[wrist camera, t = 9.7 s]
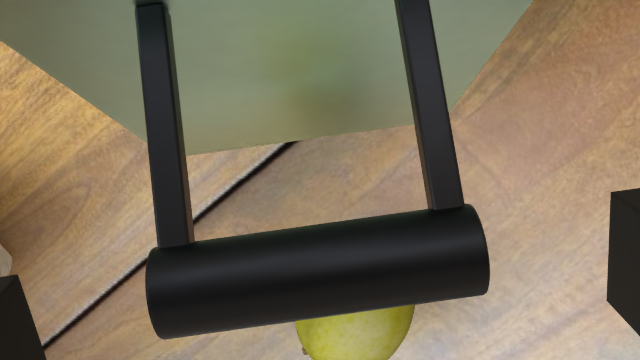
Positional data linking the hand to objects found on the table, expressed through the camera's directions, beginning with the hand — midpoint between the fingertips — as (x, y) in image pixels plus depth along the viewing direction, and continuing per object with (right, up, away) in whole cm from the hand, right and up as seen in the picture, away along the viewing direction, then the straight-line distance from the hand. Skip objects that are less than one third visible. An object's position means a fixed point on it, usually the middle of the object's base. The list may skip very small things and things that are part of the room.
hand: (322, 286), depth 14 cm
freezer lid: (-1, +7, +8) cm, 10 cm away
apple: (+2, -5, +33) cm, 33 cm away
